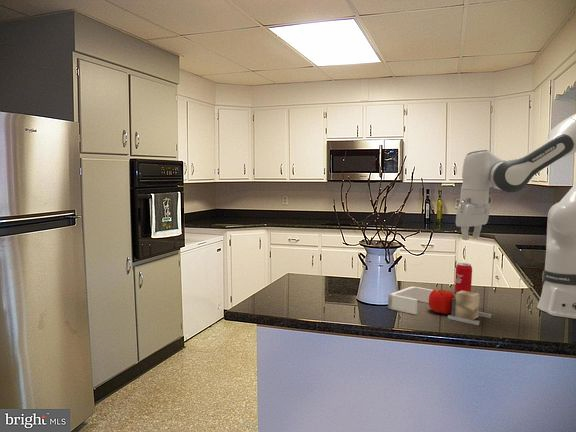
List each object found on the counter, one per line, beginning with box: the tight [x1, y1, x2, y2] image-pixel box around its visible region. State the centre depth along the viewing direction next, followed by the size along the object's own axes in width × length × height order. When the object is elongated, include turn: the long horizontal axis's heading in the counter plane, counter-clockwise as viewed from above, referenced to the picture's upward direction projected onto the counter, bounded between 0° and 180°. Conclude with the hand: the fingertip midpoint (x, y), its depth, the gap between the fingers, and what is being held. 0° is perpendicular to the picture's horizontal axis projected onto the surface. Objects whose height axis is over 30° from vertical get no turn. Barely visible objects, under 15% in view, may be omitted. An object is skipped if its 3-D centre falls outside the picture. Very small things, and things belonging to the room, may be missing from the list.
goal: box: [387, 286, 434, 315], centre depth 173 cm, size 10×18×5 cm, turn 139°
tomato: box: [428, 288, 456, 315], centre depth 166 cm, size 9×9×8 cm
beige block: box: [450, 291, 480, 320], centre depth 160 cm, size 7×7×8 cm
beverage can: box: [454, 262, 473, 294], centre depth 194 cm, size 6×6×12 cm
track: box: [447, 311, 492, 326], centre depth 160 cm, size 10×12×1 cm
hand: (470, 238), depth 163 cm, fingers open, 8 cm apart
